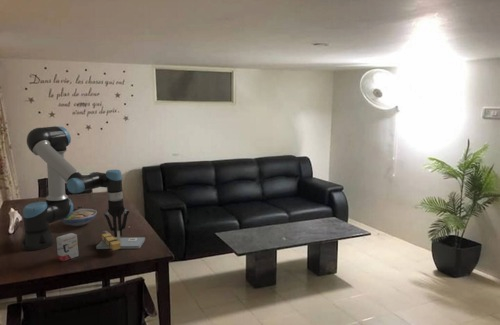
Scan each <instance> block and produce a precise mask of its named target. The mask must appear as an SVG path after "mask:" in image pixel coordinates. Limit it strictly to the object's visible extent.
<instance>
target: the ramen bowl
mask: <svg viewBox="0 0 500 325" xmlns="http://www.w3.org/2000/svg"><path fill="white" fill-rule="evenodd" d="M97 213H98V212H97V209H93V208H83V206H76V207H75V208H73V212H72V214H71V215H70V216H69V217H67V218H65V219H62V220H60V221H61V222H62V223H64V224H65V225H67V226H72V227H82V226H84V225H87V224H88V223H89V224H90V222H92V220H94V219H95V218H96V216H97Z"/></svg>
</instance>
